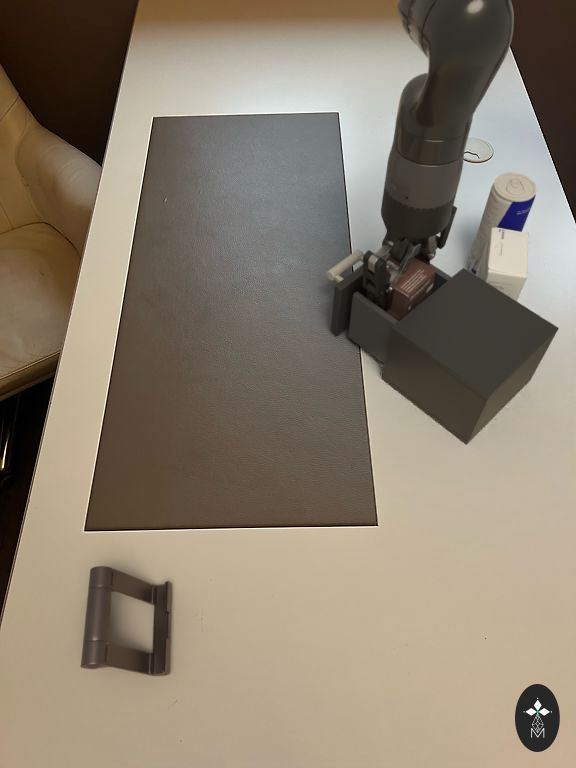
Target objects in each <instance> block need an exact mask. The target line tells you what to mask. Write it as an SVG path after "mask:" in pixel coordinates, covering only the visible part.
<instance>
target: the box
mask: <svg viewBox="0 0 576 768" xmlns="http://www.w3.org/2000/svg"><path fill="white" fill-rule="evenodd" d="M388 258H389V261H391V262H392V263H394V264H395V265H397V266H398V267H400V265H401V263H398V262H397V261H395V260H394V259H392V258H391V257H390V256H389V257H388ZM436 271H437V270H436V269H434V268H433V267H431V266H429V265H427V264H426V263H424V262H422V261H420V260H419V259H417V258H415V257H413V259H412V261H411V263H410V265H409V267H408V269H407V271H406V274H405V275H404V276H401V277H399V279H398V281H397V283H396V285H395V287H394V293H393V299H392V304H391V308H390V309H389V310H387V311H385V312H387V313H388V314H389V315H391V316H392V317H394V318H395V319H396V320H398V321H400V320H401V319H402V318H404V317H405V316H406V315H407V314H408V313H410V312H411V311H412V310H413V309H414V308H416V307H417V306H418V305H419V304H420V303H422V302H423V301H424V300H425V299H426V298H428V297H429V296H430V295H431V291H432V286H433V283H434V278H435V274H436ZM390 278H391V274H390V273H389V272H388V271H386V279H387V280H388V281H389V280H390ZM366 298H367V299H368V300H370V301H371V302H373V298H374V294H373V293H372V292H370V291H369V290H367V297H366Z"/></svg>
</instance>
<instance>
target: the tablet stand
mask: <svg viewBox="0 0 576 768" xmlns="http://www.w3.org/2000/svg"><path fill="white" fill-rule="evenodd" d="M113 592H115V593H118V594H122V595H124V596H127V597H130V598H133V599H136V600H138V601H141V602H143V603H146V604H149V605H151V606H153V608H154V609H153V626H152V627H153V631H152V651H151V652H147V651H143V650H140V649H136V648H131V647H128V646H124V645H120V644H116V643H113V642H109V630H110V618H111V617H110V616H111V604H112V594H113ZM172 600H173V584H172V583H171V582H170V581H169V580H168V581H165V582H164V584H159V585H158V584H157V585H156V584H152V583H150V582H147V581H145V580H142V579H141V578H138V577H136V576H132V575H131V574H128V573H126V572H123V571H120V570H118V569H115V568H113V567H111V566H105V565H99V566H93V567H90V569H89V578H88V589H87V598H86V608H85V609H86V610H85V618H84V619H85V620H84V628H83V638H82V639H83V640H82V649H81V658H80V659H81V660H80V668H81V669H85V670H86V669H87V670H97V669H104V668H113V669H118V670H123V671H126V672H127V671H128V672H132V673H138V674H142V675H146V676H151V677H164V676H169V675H170V674H171V647H172V646H171V645H172V644H171V642H172V640H171V639H172V604H173V602H172Z"/></svg>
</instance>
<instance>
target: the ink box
mask: <svg viewBox="0 0 576 768" xmlns="http://www.w3.org/2000/svg"><path fill="white" fill-rule="evenodd" d="M529 238H530V235H529V232H525V231H522V232H519V231H514V230H508V229H503V228H497V227H495V228H493V227H492V228H491V231H490V234H489V237H488V240H487V243H486V246H485V249H484V252H483V255H482V258H481V260H480V263H479V266H478V269H477V272H476V276H477V277H479V278H480V279H482V280H484V281H485V282H487V283H488V284H490V285H491V286H493V287H495V288H496V289H498V290H499V291H501V292H503V293H504V294H506V295H507V296H509V297H510V298H512V299H514V300H515V301H517V302H518V299H519V297H520V295H521V292H522V290H523V288H524V285H525V283H526V281H527V278H528V264H529V263H528V262H529V243H530V242H529Z"/></svg>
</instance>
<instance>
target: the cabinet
mask: <svg viewBox="0 0 576 768" xmlns="http://www.w3.org/2000/svg"><path fill="white" fill-rule="evenodd" d="M451 277H452V278H450V279H449V280H448V281H447V282H446V283H444V284H443V285H442V286H441V287H440V288H438V289H437V290H436V291H435V292H434V293H432V294H431V295H430V296H429V297H428V298H426V299H425V300H424V301H423V302H422V303H420V304H419V305H418V306H417V307H416V308H414V309H413V310H412V311H411V312H410V313H408V314H407V315H406V316H405V317H404V318H402V319H401V320H400V321H399V322H397V323H396V324H395V325H394V326H393V327H392V329H391V335H390V340H389V345H388V350H387V355H386V360H385V364H383V370H382V376H381V380H382V381H383V382H385V383H386V384H388V386H390V387H391V388H393V389H394V390H395V391H396V392H398V393H399V394H400V395H401V396H403V397H404V398H406V400H408V401H409V402H411V403H412V404H413V405H414V406H416V407H417V408H418V409H419V410H421V411H422V412H423V413H424V414H426V415H427V416H429V417H430V418H431V419H432V420H434V421H435V422H436V423H438V424H439V425H440V426H442V428H444V429H446V430H447V431H448V432H449V433H450V434H452V435H453V436H454V437H456V438H457V439H458V440H459V441H461V442H462V443H464V444H465V445H468V444H469V443H470V442H471V441H472V440H473V439H474V438H475V437H476V436H477V435H478V434H479V433H480V432H482V430H483V429H484V428H485V427H486V426H487V425H488V424H489V423H490V422H491V421H492V420H493V419H494V418H495V417H496V416H497V415H498V414H499V413H501V411H502V410H503V409H504V408H505V407H506V406H507V405H508V404H509V402H511V400H513V398H514V397H516V396H517V395H518V393H520V392H521V390H523V388H524V387H526V385H528V384H529V382H531V380H532V378H533V376H534V375H535V373H536V371H537V369H538V368H539V366H540V365H541V362H542V360H543V358H544V357H545V354H546V352H547V350H548V349H549V347H550V345H551V343H552V342H553V340H554V338H555V337H556V334H557V332H558V331H559V327H558V326H557V325H555V324H553V323H552V322H550V321H548V320H547V319H546V318H544V317H542V316H540V315H539V314H538V313H536V312H535V311H533V310H531V309H529V308H527V307H526V306H525V305H523V304H522V303H520V302H518V300H517V301H515V300H514V299H512V298H510V297H509V296H507V295H506V294H504V293H503V292H501V291H499V290H498V289H496V288H495V287H493V286H491V285H490V284H488V283H487V282H485V281H484V280H482V279H480V278H479V277H477V276H476V275H474V274H473V273H471V272H470V271H469V269H467V268H465V267H462V269H460V270H459V271H457V273H455V274H454V275H453V276H451Z"/></svg>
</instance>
